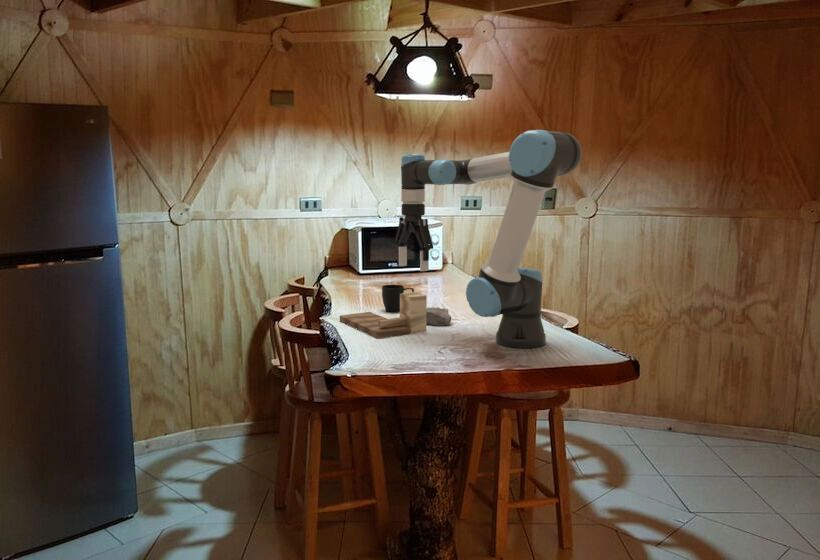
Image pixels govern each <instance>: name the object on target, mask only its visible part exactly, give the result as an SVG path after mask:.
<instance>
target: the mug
mask: <svg viewBox="0 0 820 560" xmlns="http://www.w3.org/2000/svg"><path fill="white" fill-rule="evenodd" d="M406 290H411V292H415V289H414V288H413V287H405V286H404V285H402V284H385V285H382V287H381V297H382V303H383V305H384V310H385V312H387V313H391V314H392V313H393V314H394V313H395V312H396V313H400V294H402V293H405V291H406Z"/></svg>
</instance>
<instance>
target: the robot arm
mask: <svg viewBox="0 0 820 560" xmlns="http://www.w3.org/2000/svg"><path fill="white" fill-rule="evenodd" d="M582 156H583V149H582V145H581V143H580V142H579V140H578V139H577V137H575V136H574V135H572V134H571V133H569V132H565V131H564V132H563V131H554V130H553V131H552V130H545V129H544V130H543V129H534V130H533V129H531V130H530V129H529V130H527V131H524V132H522V133H520V134H519V135H518V136H517V137H516V138H515V139H514V140H513V141H512V143H511V145H510V149H509V151H507V152H501V153H495V154H490V155H484V156H479V157H474V158H468V159H463V160H461V159H460V160H459V159H458V160H453V159H452V160H451V159H441V158H439V159H429V160H428V159H427V160H426V157H425V155H424V154H421V153H420V154H419V153H409V154H407V153H406V154H403V155H402V156H401V162H400V163H401V164H400V165H401V166H400V169H401V171H400V172H401V181H400V182H401V191H400V192H401V194H400V195H401V199H400V200H401V202H402V204H401V215H402V216H400V217H399V221H398V227H397V231H396V235H395V239H394V245H396V246H397V247H398V267H407V266H408V259H407V258H408V248H407V246H408V245H407V242H408V240H409V238H410V236H411V234H412V233H413V234H415V237H416V239H417V242H418V244H419V247H420V250H419V271H420V272H427V271H429V267H430V264H429V263H430V262H429V260H430V251H431V250H433V249H434V245H433V241H432V236H431V233H430V229H429V221H428V218H422V216H425V214H426V211H425V210H426V206H425V204H424V202H425V197H426V196H425V194H426V193H425V190H426V187H425V186H426V185H438V186H445V185H464V186H465V185H467V186H468V185H474V184H476V183H479V182H487V181H493V180H500V179H501V180H502V179H507V178H511V179H512V181H513V186H512V188H511V192H510V195H509V197H508V200H507V203H506V206H505V210H504V213H503V217H502V220H501V222H500V225H499V228H498V232H497V234H496V238H495V241H494V243H493V247H492V250H491V254H490V257H489V259H488V261H487V262H485V263H483V264H482V265H481V266H480V271H479V273H478V276H476V277H474V278H472V279H471V280H470V281H469V282H468V284H467V285H466V288H465V289H466V290H465V294H466V295H465V296H466V301H467V302H468V306H469V308H470V309H471V311H473V312H474V313H475V314H476V315H477V316H479V317H483V318H494V317H495V318H496V317H497V316H500V315H502V316H501V319H500V323H499V326H498V330H497V331H496V333H495V342H496V343H497V344H499V345H502V346H506V347H509V348H518V349H531V348H532V349H534V348H540V347H543V346H545V345H546V343H547V342H546V341H547V340H546V339H547V337H546V333H545V329H544V325H543V322H542V296H543V295H542V292H543V284H544V283H543V273H542V272H541V270H538V269H534V268H528V267H527V268H526V267H520V266H521V262H522V260H523V258H524V254H525V251H526V248H527V246H528V242H529V239H530V237H531V234H532V231H533V228H534V226H535V222H536V220H537V216H538V213H539V210H540V207H541V204H542V202H543V199H544V196H545V193H546V192H548V191H550V190H552V189H553V188H554V185H555V182H556V180H557V177H558V176H565V175H568V174H570V173H572V172H574V171H575V170H576V169H577V168H578V166H579V165H580V163H581V161H582V158H583V157H582Z"/></svg>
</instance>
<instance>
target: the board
mask: <svg viewBox="0 0 820 560" xmlns="http://www.w3.org/2000/svg"><path fill="white" fill-rule="evenodd" d="M385 319H388V318H387V317H384V316H381V315H379V314H377V313H374V312H372V311H365V312H358V313H350V314H342V315H339V322H340V323H342V324H345V323H346V324H345V325H347V324H348V325H347V326H349V325H350V327H351V326H352V328H353V327H354V329H356V328H357V330H358V331H360V330H361V331H360V332H362V331H363V332H362V333H364V332H365V334H366V333H367V334H366V335H369V336H371V337H373V338H375V339H378V338H379V339H385V337H386V338H391V336H392V337H397V336H398V335H399V336H405V334H406V335H410V334H411V333H410V328H409V327H407V326H404V325H397V326H390V327H385V328H381V327H379V326H378V320H385Z"/></svg>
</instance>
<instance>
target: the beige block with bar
mask: <svg viewBox="0 0 820 560" xmlns="http://www.w3.org/2000/svg"><path fill="white" fill-rule="evenodd" d="M427 300H428V299H427V295H426V294H423V293H420V292H416V291H414V292H412V291H411V292H404V293H402V294H400V312H399V317H393V318H387V319H385V320H378V326H379V327H381V328H385V327H390V326H397V325H404V326H407V327H409V328H410V334H417V333H423V332H427V324H426V308H427V303H428V302H427ZM416 332H417V333H416Z"/></svg>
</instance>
